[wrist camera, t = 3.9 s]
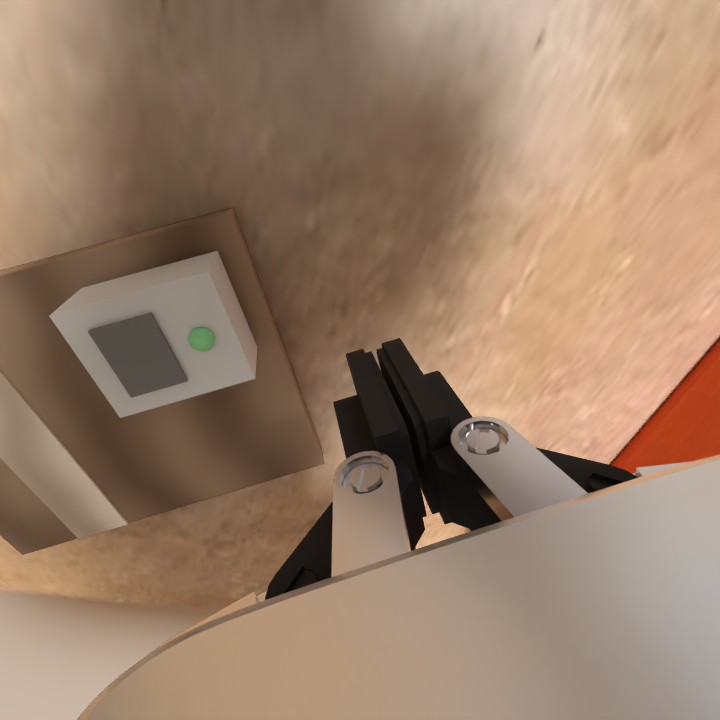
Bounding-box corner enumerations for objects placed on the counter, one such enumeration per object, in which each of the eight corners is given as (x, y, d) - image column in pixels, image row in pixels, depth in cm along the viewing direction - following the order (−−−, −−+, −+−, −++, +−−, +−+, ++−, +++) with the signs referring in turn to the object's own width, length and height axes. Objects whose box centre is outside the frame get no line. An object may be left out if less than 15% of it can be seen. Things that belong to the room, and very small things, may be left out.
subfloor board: (232, 208, 19) (229, 214, 17) (321, 447, 27) (324, 464, 26) (-188, 321, 18) (-226, 337, 17) (34, 533, 26) (21, 556, 25)
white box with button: (217, 250, 18) (207, 273, 15) (257, 347, 20) (255, 381, 18) (81, 288, 18) (46, 318, 15) (139, 381, 20) (118, 420, 17)
